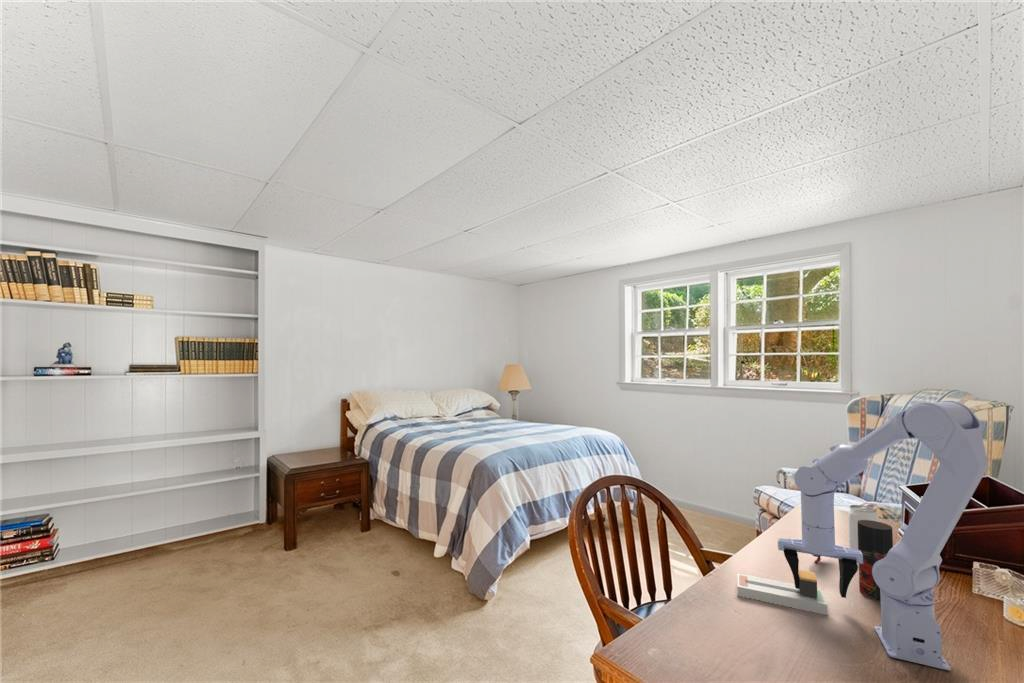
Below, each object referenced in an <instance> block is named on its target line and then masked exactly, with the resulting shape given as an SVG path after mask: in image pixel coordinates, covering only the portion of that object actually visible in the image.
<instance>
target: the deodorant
mask: <svg viewBox="0 0 1024 683" xmlns="http://www.w3.org/2000/svg"><path fill="white" fill-rule="evenodd" d="M857 525H858V550H859V551H861V552H862V554H863V564H860V563H858V582H859V583H858V584H859V592H860V594H861V595H863V596H864V597H866V598H868V599H871V600H872V601H873V600H874V601H877V602H881V594H880V588H879V587H878V585H877V584H876V582H875V580H874V578H873V575H872V568H873V565H874V564H875V563H876V562H877V561H879V560H881V559H883V558H885V557H886V555H887V554H888V552H889V550H890V549H891V548H892V547H893V546H894V544H893V543H894V540H893V538H894V534H893V527H892V526H891V525H889V524H888V523H885V522H880V521H879V522H877V521H871V520H859V521H857Z"/></svg>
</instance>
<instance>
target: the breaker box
mask: <svg viewBox="0 0 1024 683" xmlns="http://www.w3.org/2000/svg"><path fill="white" fill-rule="evenodd" d="M736 575H737V586H736V587H737V590H736V591H737V597H740V596H743V597H742V598H744V597H748V598H747V599H749V598H752V599H751V600H754V599H757V600H756V601H758V600H761V601H760V602H763V601H765V603H768V602H769V603H768V604H772V603H774V604H773V605H777V604H778V606H782V605H783V606H782V607H787V608H791V607H792V609H798V610H802V611H806V612H810V611H812V612H811V613H816V614H819V615H820V614H821V615H824V616H828V614H829V613H828V603H827V600H826V598H825V595H824V593H823V590H822V589H821V588H817V597H812V596H807V595H802V594H800V592H799V589H797V588H795V583H790V582H785V581H780V580H775V579H769V578H765V577H759V576H754V575H749V574H744V573H743V574H742V573H736Z"/></svg>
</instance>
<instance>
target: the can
mask: <svg viewBox="0 0 1024 683" xmlns="http://www.w3.org/2000/svg"><path fill="white" fill-rule="evenodd" d="M877 511H878V509H876V508H874V507H871V506H866V505H860V504H851V505H849V510H848V511H847V521H848V522H847V524H848V526H847V527H848V548H849V549H854V550H858V525H857V521H859V520H871V521H877V522H880V517H879V515H878V513H877Z"/></svg>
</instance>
